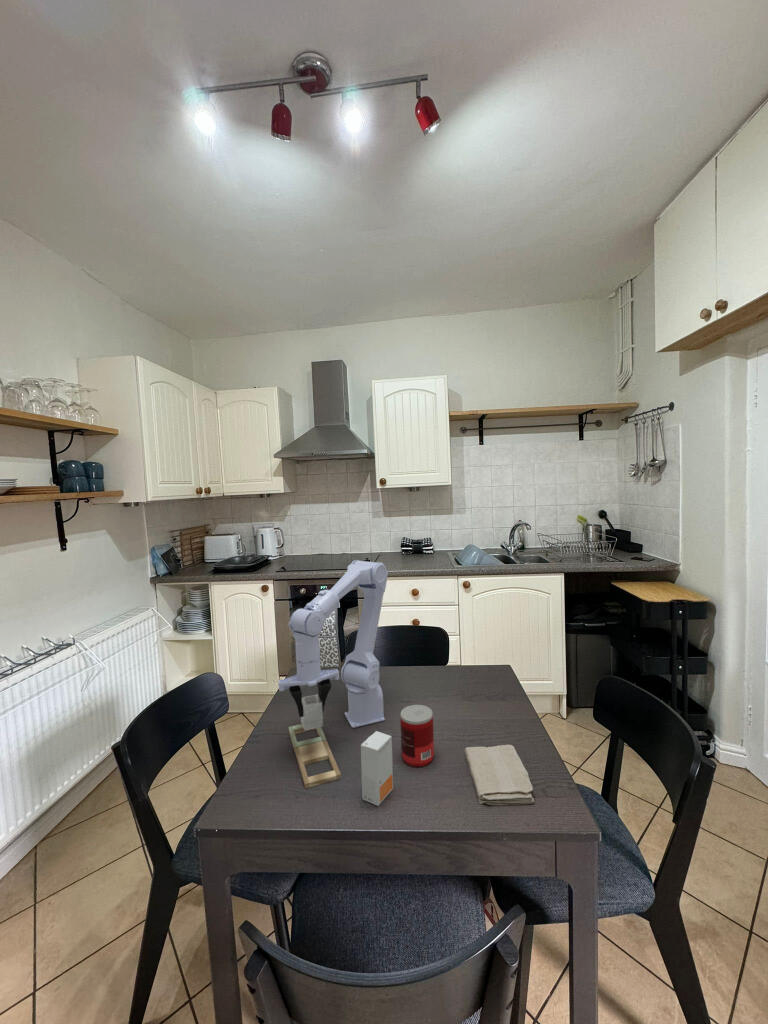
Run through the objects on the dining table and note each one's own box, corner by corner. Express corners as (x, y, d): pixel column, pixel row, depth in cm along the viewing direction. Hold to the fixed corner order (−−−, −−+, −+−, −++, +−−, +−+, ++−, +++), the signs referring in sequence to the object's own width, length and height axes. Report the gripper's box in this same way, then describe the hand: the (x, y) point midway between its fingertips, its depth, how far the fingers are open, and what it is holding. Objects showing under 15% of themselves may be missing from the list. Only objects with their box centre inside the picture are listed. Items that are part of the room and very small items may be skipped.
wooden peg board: (318, 724, 120) (317, 720, 120) (340, 778, 98) (340, 773, 98) (288, 731, 117) (288, 726, 117) (305, 788, 95) (305, 783, 95)
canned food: (437, 750, 107) (435, 706, 106) (429, 770, 99) (428, 724, 99) (407, 744, 109) (405, 702, 109) (397, 764, 102) (396, 719, 101)
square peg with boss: (318, 717, 109) (317, 692, 109) (323, 726, 105) (322, 701, 105) (301, 721, 108) (299, 696, 107) (304, 730, 104) (303, 705, 103)
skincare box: (379, 807, 89) (376, 750, 88) (361, 800, 91) (359, 744, 90) (394, 789, 94) (392, 735, 93) (377, 782, 96) (375, 730, 95)
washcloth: (479, 809, 88) (479, 794, 87) (462, 754, 106) (462, 742, 105) (538, 807, 88) (538, 792, 88) (511, 752, 106) (511, 740, 105)
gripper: (280, 670, 99) (283, 728, 100) (341, 658, 105) (344, 713, 106) (276, 659, 106) (279, 713, 107) (334, 648, 111) (336, 700, 112)
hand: (311, 712), depth 107 cm, fingers closed on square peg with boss, 4 cm apart
